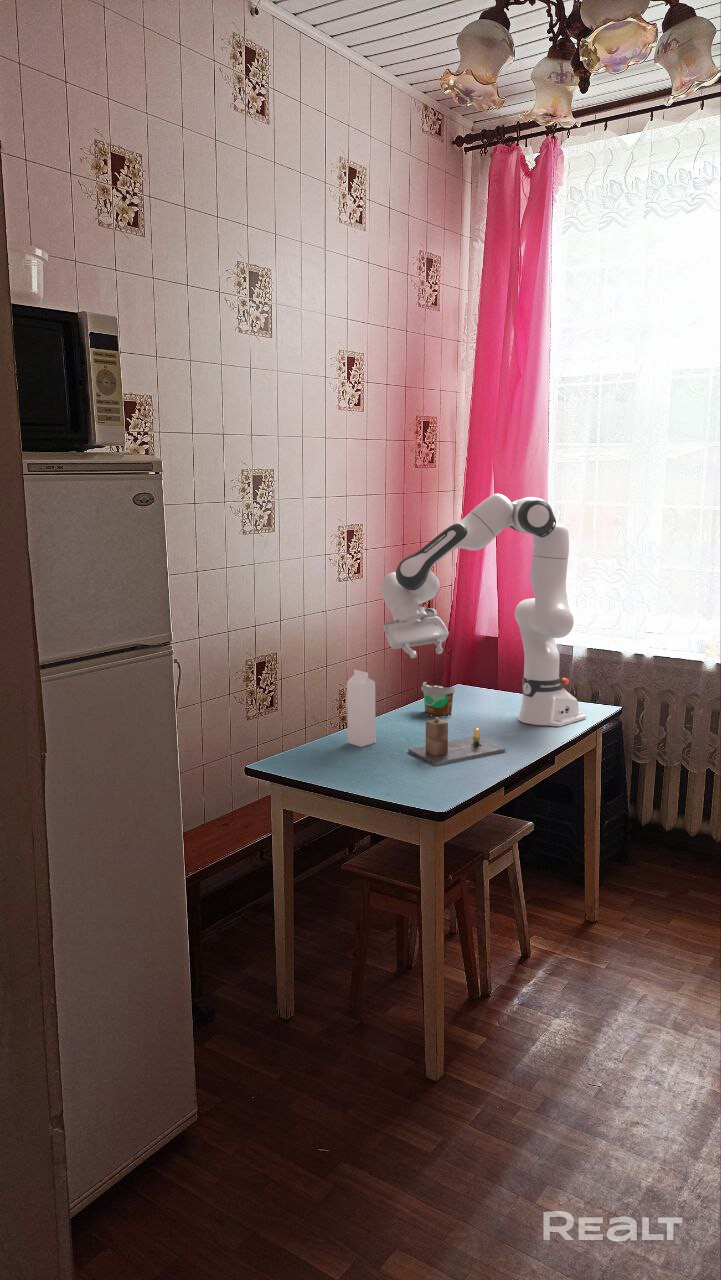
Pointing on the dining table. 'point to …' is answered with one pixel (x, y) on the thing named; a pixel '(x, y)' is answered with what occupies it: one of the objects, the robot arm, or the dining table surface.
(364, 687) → the milk
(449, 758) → the bolt plate
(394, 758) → the dining table surface
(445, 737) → the walnut peg
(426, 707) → the food container
